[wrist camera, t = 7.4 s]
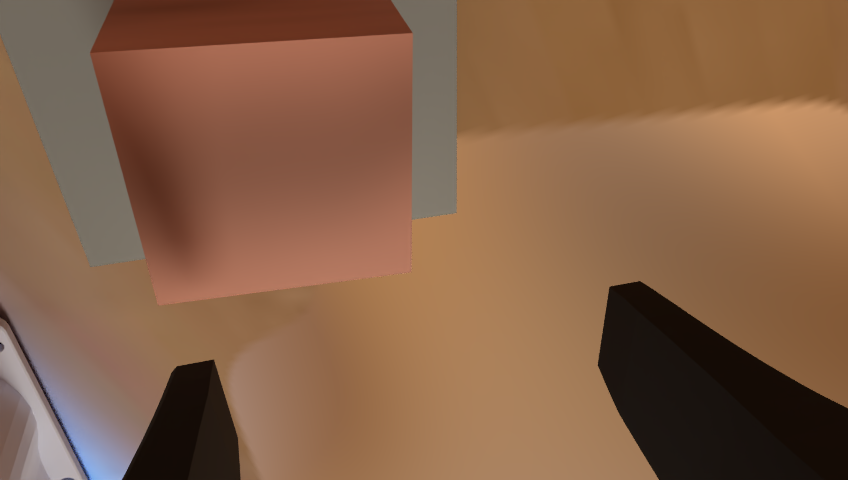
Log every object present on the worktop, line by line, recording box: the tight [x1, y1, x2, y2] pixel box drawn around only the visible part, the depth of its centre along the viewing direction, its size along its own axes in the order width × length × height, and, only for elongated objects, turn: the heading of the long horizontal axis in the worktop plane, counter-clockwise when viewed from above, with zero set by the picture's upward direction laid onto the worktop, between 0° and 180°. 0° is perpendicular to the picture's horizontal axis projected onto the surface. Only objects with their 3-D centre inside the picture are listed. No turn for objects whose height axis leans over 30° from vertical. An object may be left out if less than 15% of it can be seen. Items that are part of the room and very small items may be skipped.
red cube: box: [90, 0, 413, 305], centre depth 14 cm, size 5×5×5 cm
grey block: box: [0, 0, 457, 267], centre depth 17 cm, size 10×10×4 cm
